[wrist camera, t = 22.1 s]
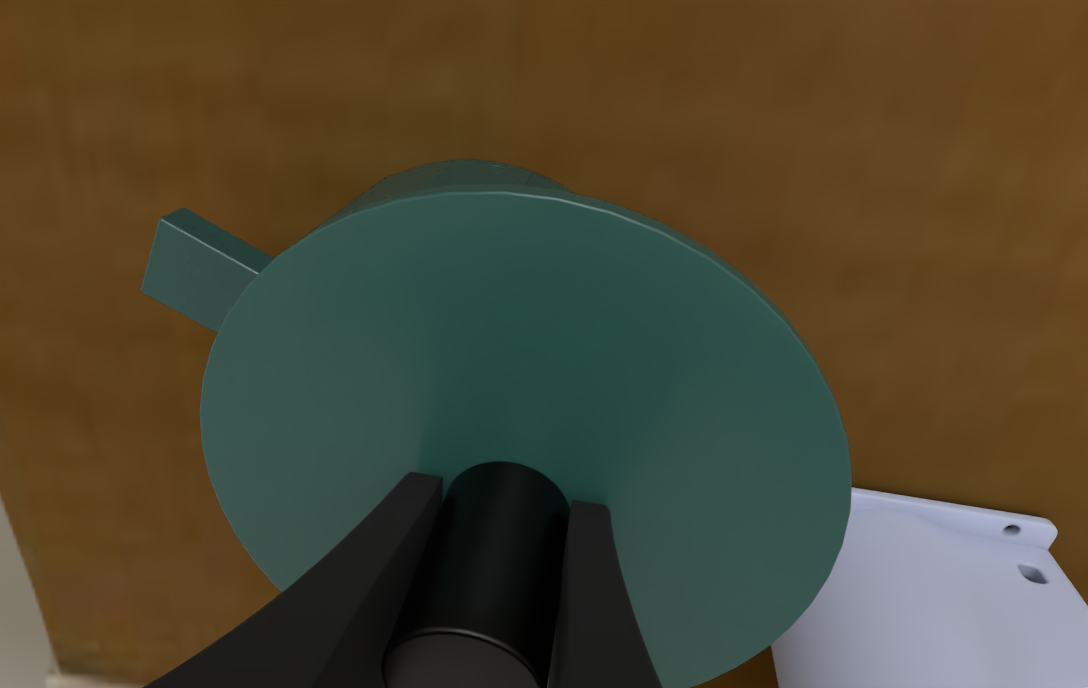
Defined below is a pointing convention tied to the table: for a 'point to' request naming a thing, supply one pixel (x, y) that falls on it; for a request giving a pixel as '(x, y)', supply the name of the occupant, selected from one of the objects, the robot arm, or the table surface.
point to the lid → (531, 426)
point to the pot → (231, 264)
